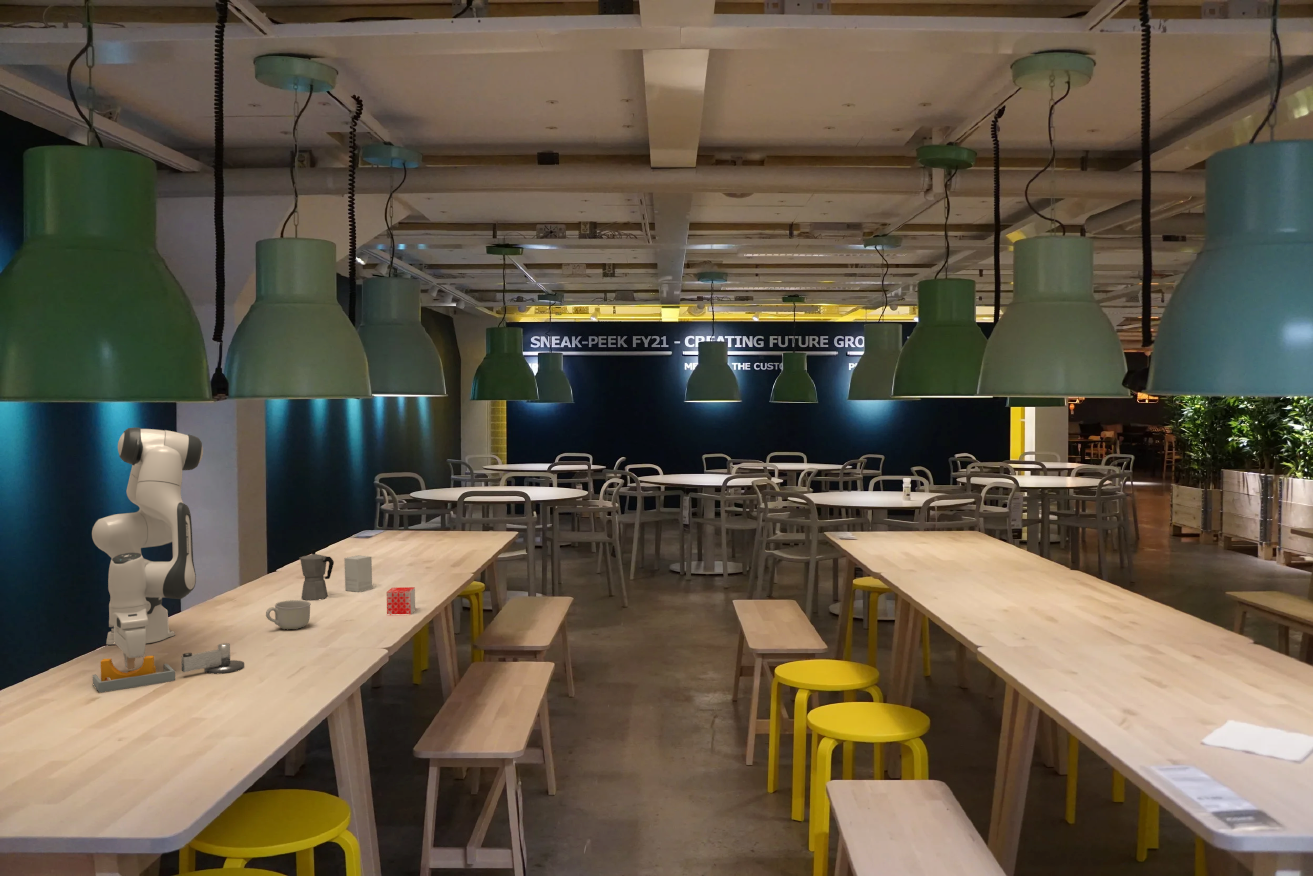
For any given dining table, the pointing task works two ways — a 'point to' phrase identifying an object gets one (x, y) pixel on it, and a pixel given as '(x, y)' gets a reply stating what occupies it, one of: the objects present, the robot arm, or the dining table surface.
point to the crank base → (226, 667)
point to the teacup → (290, 614)
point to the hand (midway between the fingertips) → (129, 668)
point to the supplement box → (358, 573)
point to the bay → (135, 680)
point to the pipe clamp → (113, 673)
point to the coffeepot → (315, 575)
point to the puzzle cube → (401, 600)
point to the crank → (206, 658)
